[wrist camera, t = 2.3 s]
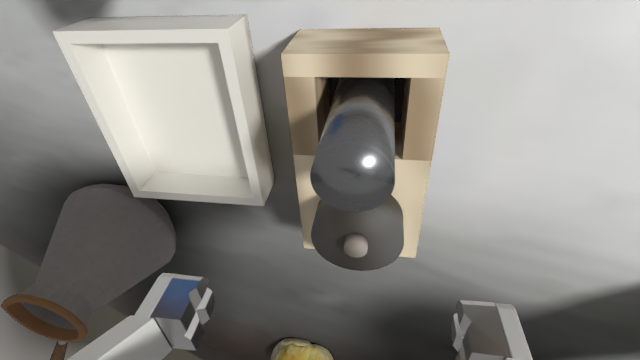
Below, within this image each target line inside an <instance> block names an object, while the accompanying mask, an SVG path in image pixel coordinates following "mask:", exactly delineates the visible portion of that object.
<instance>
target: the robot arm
mask: <svg viewBox="0 0 640 360" xmlns="http://www.w3.org/2000/svg"><path fill="white" fill-rule="evenodd" d="M208 285H209V281H208V279H207V277H199V276H190V275H180V274H171V273H162V274H161V275H160V276H159V277H158V278H157V280H156V281H155V283H154V284H153V286H152V288H151V289H150V291H149V292H148V294H147V296H146V297H145V299H144V300H143V302H142V304H141V305H140V307H139V309H138V310H137V312H136V313H135V315H134V316H132V315H130V316H128V317H127V318H126V319H124V320H123V321H121V322H120V323H119V324H117V325H116V326H115V327H113V328H111V329H110V330H109V331H107V332H106V333H104V334H103V335H102V336H100V337H99V338H97V339H96V340H94V341H93V342H92V343H90V344H89V345H87V346H86V347H85V348H83V349H82V350H80V351H79V352H77V353H76V354H75V355H73V356H72V357H70V358H69V359H68V360H162V359H163V358H164V357H165V356H166V355H167V354H168V353H169V352H170V351H171V350H172V348H174V349H185V350H197V347H198V345H199V343H200V340H201V338H202V336H203V334H204V328H203V324H204V323H205V322H207V321H208V320H209V319H210V317H211V315H212V312H213V308H214V303H215V300H214V294H213V291H211V290H210V289H209V288H208ZM456 309H457V313H456V314H454V315H453V318H452V323H451V336H452V343H453V346H454V348H455V349H456V350H457V351H458V354H457V357H456V360H533V359H532V356H531V353H530V350H529V347H528V344H527V341H526V338H525V335H524V332H523V329H522V327H521V324H520V321H519V318H518V315H517V312H516V309H515V308H514V306H513V305H511V304H498V303H492V302H479V301H466V300H459V301H458V302H457V305H456Z"/></svg>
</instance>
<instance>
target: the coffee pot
mask: <svg viewBox="0 0 640 360" xmlns="http://www.w3.org/2000/svg"><path fill="white" fill-rule="evenodd" d="M175 251H176V233H175V230H174V227H173V224H172V222H171V220H170V217H169V215H168V213H167V211H166V210H165V208H164V207H163V206H162V205H161V204H160V203H159V202H158V201H157V200H156V199H154V198H141V197H134V196H133V194H132V192H131V190H130V188H129V186H124V185H113V184H96V185H90V186H86V187H83V188H81V189H79V190H77V191H75V192H73V193H71V194H70V196H69V197H68V198H67V199H66V201H65V202H64V205H63V207H62V210H61V213H60V216H59V218H58V221H57V224H56V226H55V229H54V232H53V235H52V237H51V240H50V243H49V245H48V248H47V251H46V254H45V256H44V259H43V262H42V264H41V267H40V270H39V273H38V275H37V278H36V281H35V284H34V285H32V286H31V287H29V288H28V289H26V290H25V291H24V292H22V293H20V294H16V295H13V296H10V297H8V298H7V299H6V300H4V302H3V303H2V304H1V307H2V308H3V309H4V310H5V311H6V312H7V313H8V314H9V315H10V316H11V317H12V318H14V319H15V320H16V321H17V322H19V323H20V324H21V325H23V326H25V327H27V328H28V329H30V330H32V331H34V332H36V333H38V334H40V335H43V336H45V337H48V338H51V339H54V340H57V343H56V346H55V349H54V351H53V353H52V356H51V359H50V360H64V357H65V352H66V348H67V344H68V342H71V343H75V342H80V341H81V340H83V339H84V338H85V337H86V335H87V329H86V326H87V324H88V321H89V319H90V317H91V315H92V314H93V313H94V312H96V311H97V310H99V309H100V308H101V307H103V306H105V305H106V304H108V303H109V302H110V301H112V300H113V299H115V298H116V297H118V296H119V295H121V294H122V293H124V292H125V291H127V290H128V289H130V288H131V287H133V286H134V285H136V284H137V283H139V282H140V281H142V280H143V279H145V278H146V277H148V276H149V275H151V274H152V273H154V272H155V271H157V270H158V269H160V268H161V267H163V266H164V265H166V264H167V263H169V262H170V261H171V259H172V257H173V255H174V254H175Z"/></svg>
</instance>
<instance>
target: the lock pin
mask: <svg viewBox="0 0 640 360" xmlns="http://www.w3.org/2000/svg"><path fill="white" fill-rule="evenodd" d="M310 180H311V184H312V187H313V189H314V191H315V192H316V194H317V195H318V196H319V197H320V199H322V200H323V201H324V202H325V203H327V204H328V205H330V206H332V207H334V208H336V209H339V210H343V211H348V212H363V211H368V210H371V209H374V208H376V207H378V206H380V205H381V204H383V203H384V202H385V201H386V200H387V199H388V198H389V197H390V195H391V194H392V192H393V189H394V185H395V122H394V80H393V78H372V77H340V78H339V81H338V85H337V88H336V91H335V94H334V97H333V101H332V104H331V107H330V110H329V113H328V117H327V120H326V123H325V126H324V129H323V133H322V136H321V139H320V142H319V145H318V149H317V152H316V155H315V158H314V161H313V165H312V168H311V172H310Z"/></svg>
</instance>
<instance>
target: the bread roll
mask: <svg viewBox="0 0 640 360" xmlns="http://www.w3.org/2000/svg"><path fill="white" fill-rule="evenodd" d="M271 360H333V357H332V355H331V354H330V352H329V351H328V350H327V349H326V348H324V347H322V346H320V345H317V344H311V343H310V342H309V341H307V340H304V339H299V338H287V339H283V340H282V341H280V342H279V343H278V344H277V345H276V347H275V348H274V350H273V352H272V355H271Z"/></svg>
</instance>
